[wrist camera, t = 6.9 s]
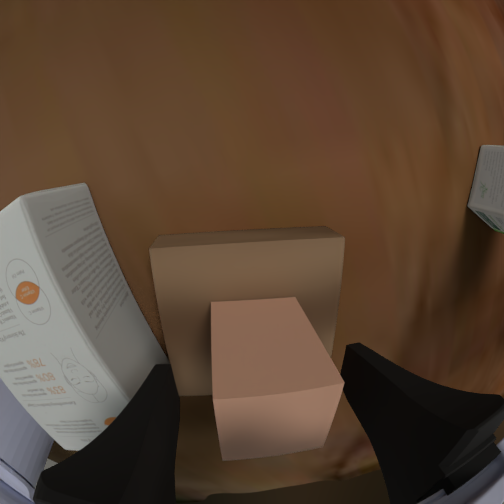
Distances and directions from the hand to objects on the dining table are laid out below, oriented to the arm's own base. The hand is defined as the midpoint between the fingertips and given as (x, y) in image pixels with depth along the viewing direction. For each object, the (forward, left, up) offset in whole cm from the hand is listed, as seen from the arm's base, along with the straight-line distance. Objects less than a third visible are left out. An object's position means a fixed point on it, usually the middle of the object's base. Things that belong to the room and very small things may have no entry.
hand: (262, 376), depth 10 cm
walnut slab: (0, 0, -6) cm, 6 cm away
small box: (0, +14, -3) cm, 14 cm away
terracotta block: (0, 0, -3) cm, 3 cm away
